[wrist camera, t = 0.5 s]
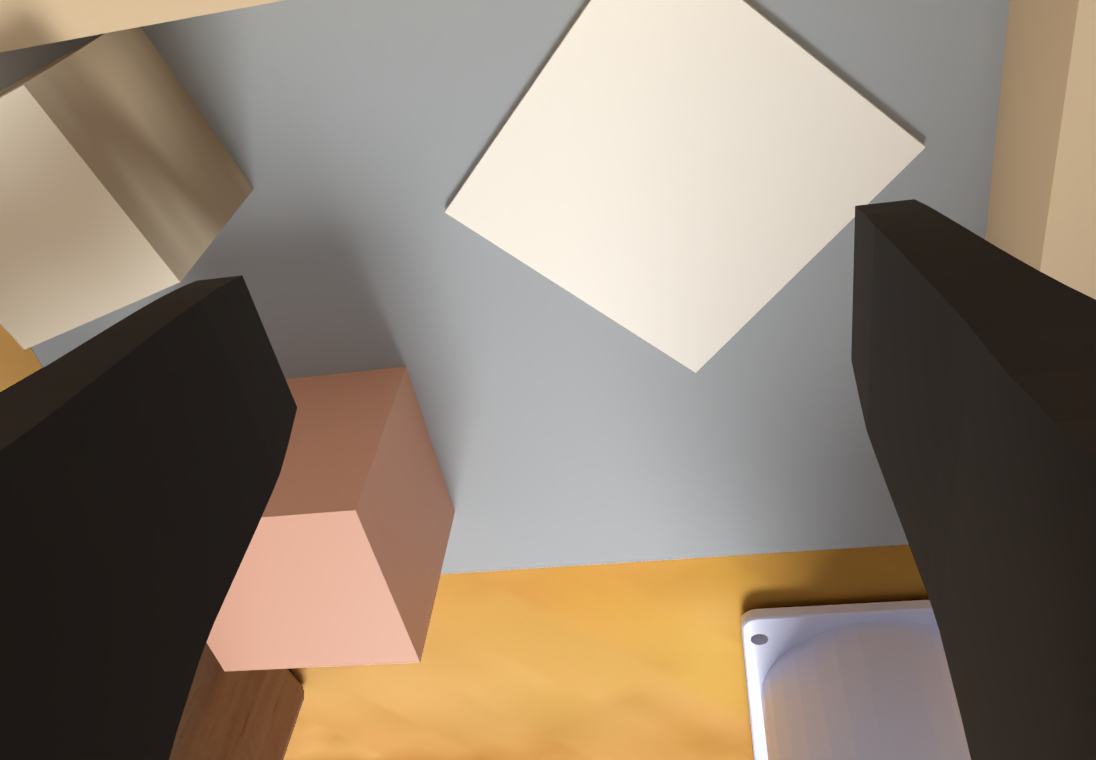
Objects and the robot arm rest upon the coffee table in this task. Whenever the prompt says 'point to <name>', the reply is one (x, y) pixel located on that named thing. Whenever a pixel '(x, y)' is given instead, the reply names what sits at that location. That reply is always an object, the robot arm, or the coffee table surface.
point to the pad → (680, 167)
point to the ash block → (104, 186)
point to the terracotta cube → (343, 535)
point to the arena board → (551, 311)
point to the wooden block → (237, 713)
